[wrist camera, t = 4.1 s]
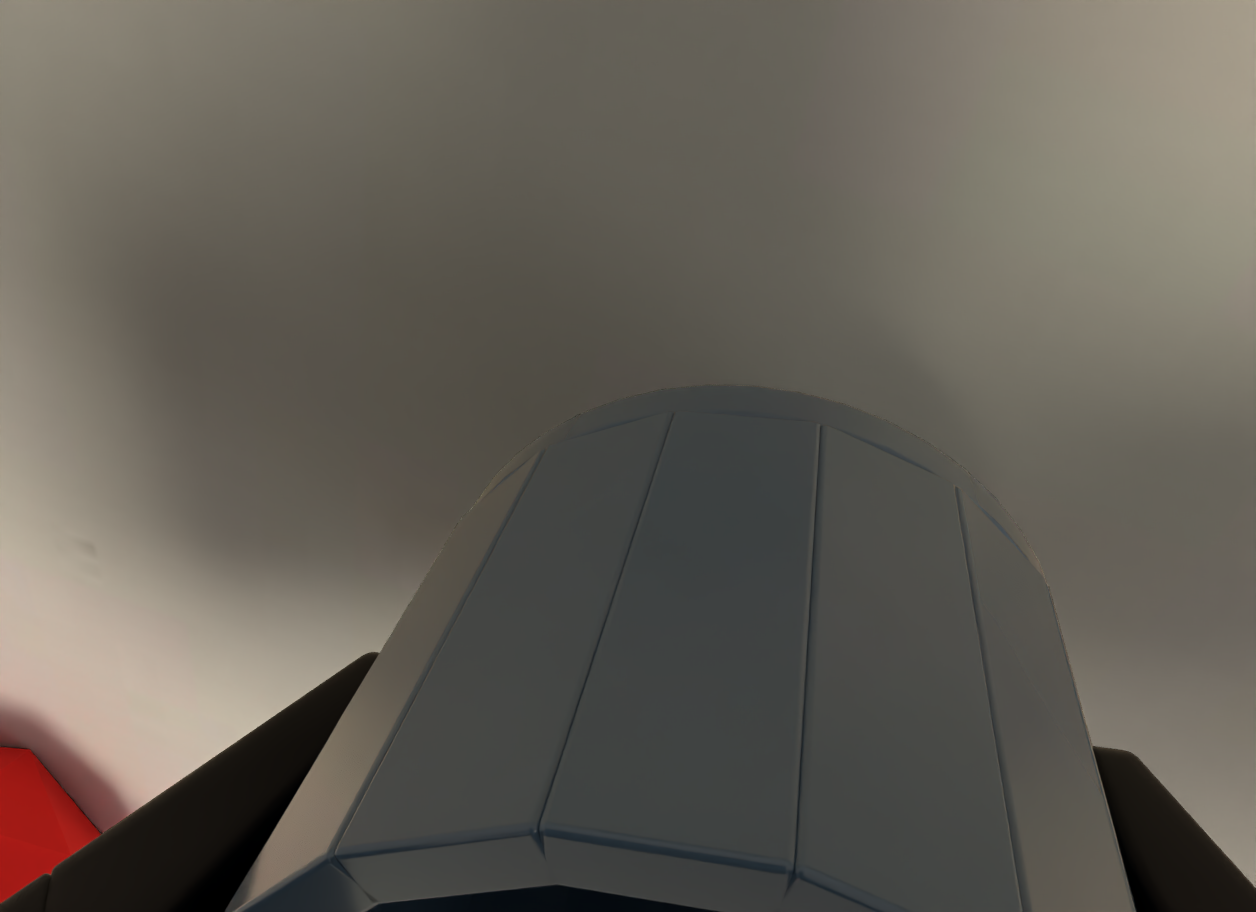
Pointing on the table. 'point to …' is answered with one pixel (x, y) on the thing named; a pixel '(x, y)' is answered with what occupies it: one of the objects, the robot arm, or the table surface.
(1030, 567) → the enamel cup
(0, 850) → the apple
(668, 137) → the table surface
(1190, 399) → the table surface
